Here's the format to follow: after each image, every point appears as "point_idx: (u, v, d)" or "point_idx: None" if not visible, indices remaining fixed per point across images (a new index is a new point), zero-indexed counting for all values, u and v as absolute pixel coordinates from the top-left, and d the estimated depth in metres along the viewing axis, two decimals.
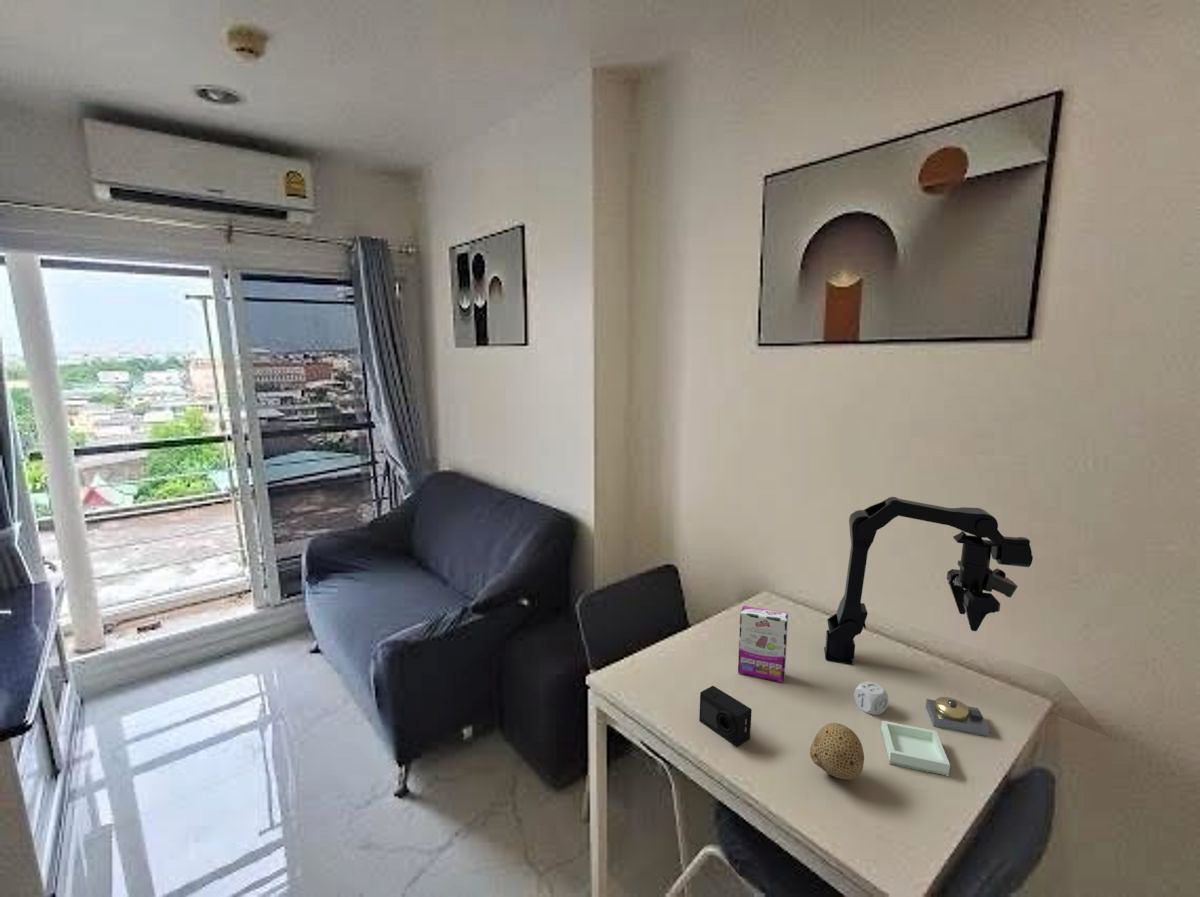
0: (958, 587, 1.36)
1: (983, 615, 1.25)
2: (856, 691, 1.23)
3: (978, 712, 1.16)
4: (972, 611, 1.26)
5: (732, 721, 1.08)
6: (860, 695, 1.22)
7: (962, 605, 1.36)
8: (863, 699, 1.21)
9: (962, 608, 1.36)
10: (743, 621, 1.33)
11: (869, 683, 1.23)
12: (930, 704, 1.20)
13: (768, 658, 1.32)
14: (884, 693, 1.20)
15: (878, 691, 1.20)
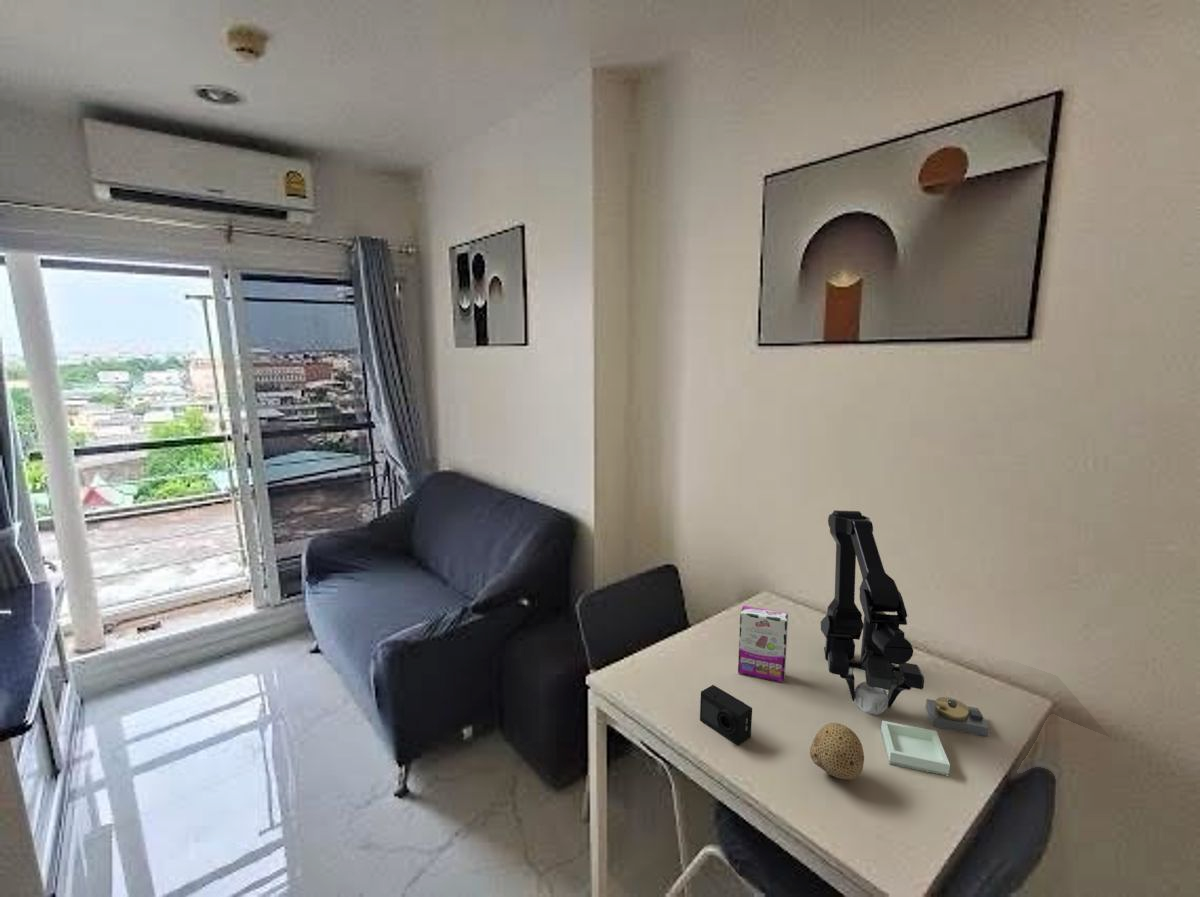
0: None
1: None
2: (856, 690, 1.23)
3: (978, 712, 1.16)
4: None
5: (733, 720, 1.09)
6: (860, 695, 1.22)
7: (888, 697, 1.21)
8: (863, 699, 1.21)
9: (888, 700, 1.21)
10: (743, 621, 1.33)
11: None
12: (930, 704, 1.20)
13: (768, 658, 1.32)
14: (884, 693, 1.20)
15: (878, 691, 1.20)
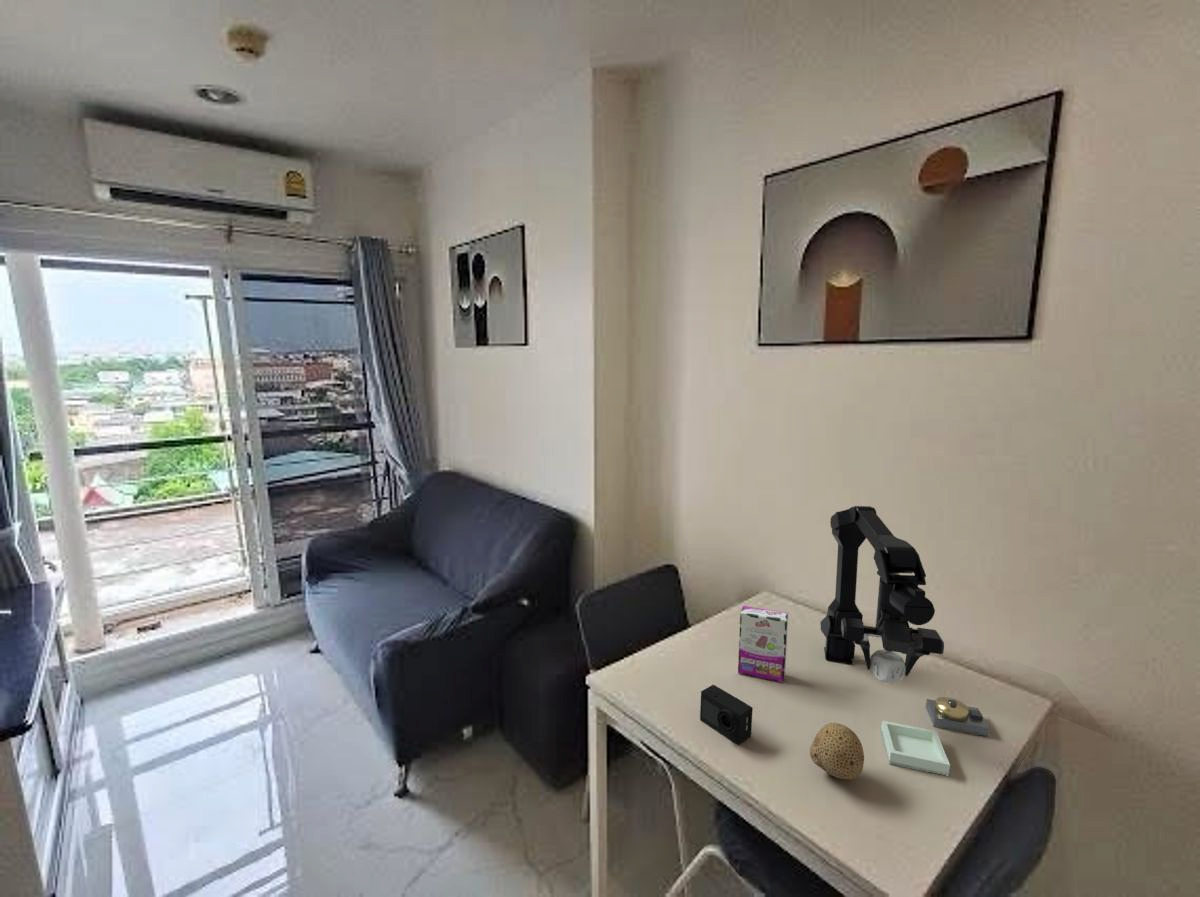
0: None
1: None
2: (871, 659, 1.16)
3: (978, 712, 1.16)
4: None
5: (734, 720, 1.09)
6: (876, 663, 1.16)
7: (906, 664, 1.15)
8: (879, 667, 1.15)
9: None
10: (743, 621, 1.33)
11: (885, 651, 1.17)
12: (930, 704, 1.20)
13: (768, 658, 1.32)
14: (901, 660, 1.14)
15: (895, 658, 1.14)
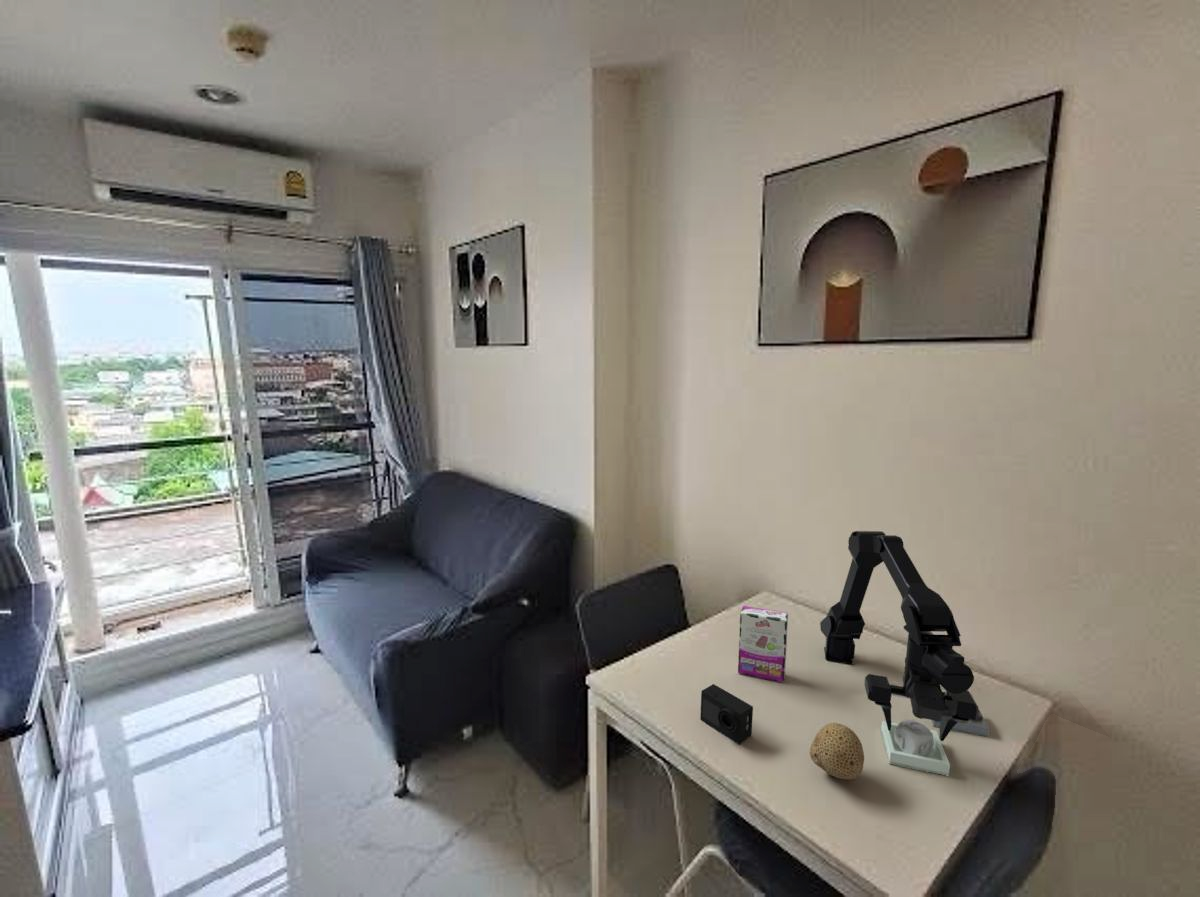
0: None
1: None
2: (896, 730, 1.08)
3: None
4: None
5: (734, 719, 1.09)
6: (901, 735, 1.08)
7: (941, 728, 1.06)
8: (905, 740, 1.07)
9: (940, 731, 1.06)
10: (743, 621, 1.33)
11: (911, 721, 1.09)
12: None
13: (768, 658, 1.32)
14: (929, 734, 1.06)
15: (922, 731, 1.06)
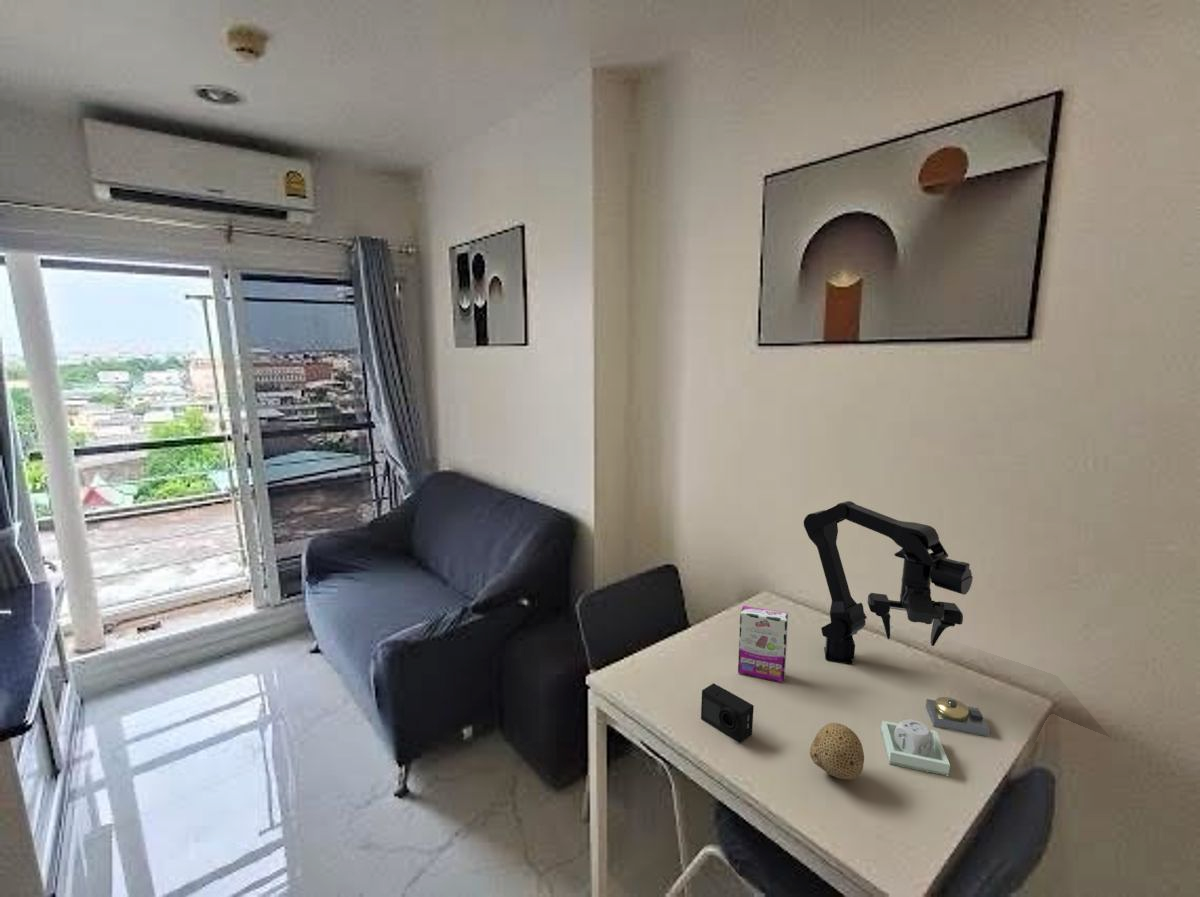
0: None
1: None
2: (896, 730, 1.08)
3: (978, 712, 1.16)
4: None
5: (735, 718, 1.09)
6: (901, 735, 1.08)
7: (932, 635, 1.26)
8: (905, 740, 1.07)
9: (931, 638, 1.26)
10: (743, 621, 1.33)
11: (911, 721, 1.09)
12: (930, 704, 1.20)
13: (768, 658, 1.32)
14: (929, 734, 1.06)
15: (922, 731, 1.06)
